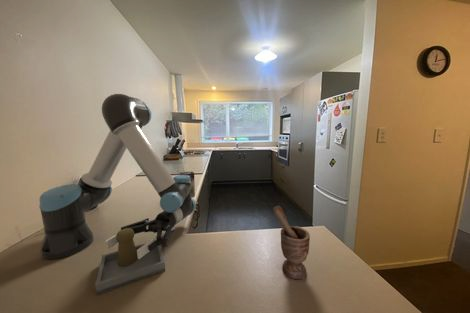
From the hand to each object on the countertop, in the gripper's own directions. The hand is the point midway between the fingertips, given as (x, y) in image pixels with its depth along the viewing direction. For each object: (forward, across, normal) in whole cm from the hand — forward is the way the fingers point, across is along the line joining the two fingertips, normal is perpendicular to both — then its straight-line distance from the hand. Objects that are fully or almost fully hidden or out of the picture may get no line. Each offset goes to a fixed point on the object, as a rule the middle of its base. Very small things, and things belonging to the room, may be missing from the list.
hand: (121, 249), depth 57 cm
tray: (-3, 0, -8) cm, 9 cm away
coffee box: (-65, +22, -9) cm, 70 cm away
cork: (-4, +3, -8) cm, 9 cm away
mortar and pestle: (-20, -48, -9) cm, 53 cm away
